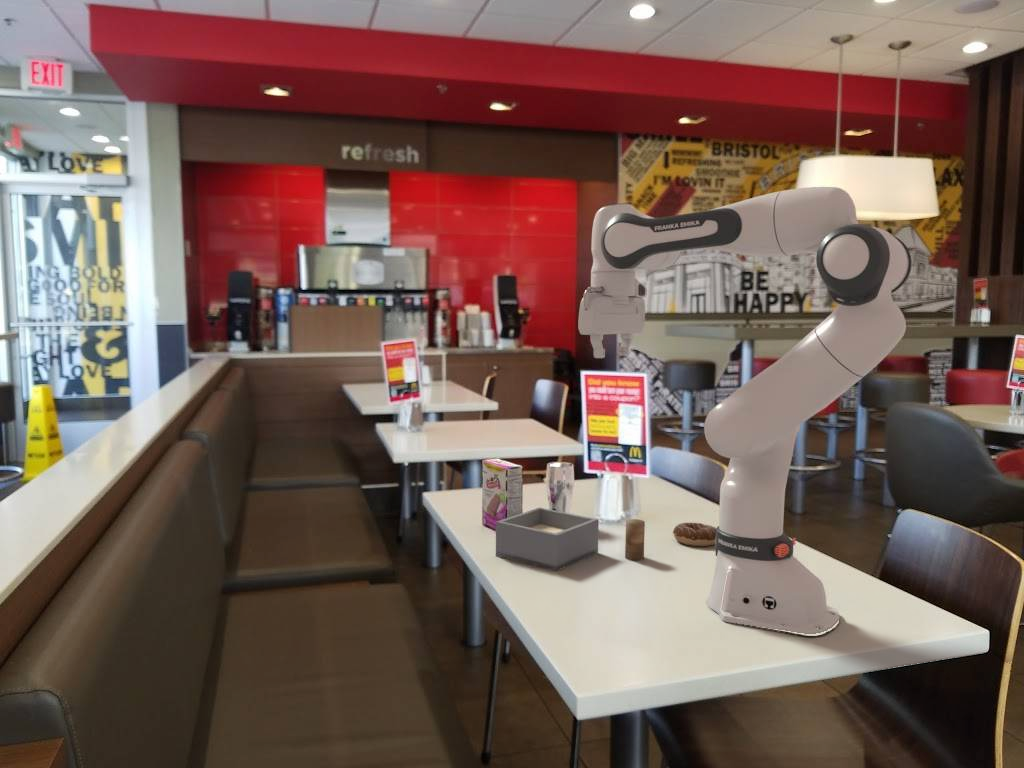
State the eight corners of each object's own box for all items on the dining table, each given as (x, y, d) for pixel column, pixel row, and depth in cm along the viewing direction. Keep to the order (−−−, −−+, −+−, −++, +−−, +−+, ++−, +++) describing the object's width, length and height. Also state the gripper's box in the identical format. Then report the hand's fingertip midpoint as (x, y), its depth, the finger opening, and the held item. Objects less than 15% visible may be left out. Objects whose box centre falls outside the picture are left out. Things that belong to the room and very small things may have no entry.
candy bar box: (480, 525, 197) (481, 459, 195) (497, 522, 200) (498, 457, 198) (506, 536, 188) (506, 467, 186) (523, 533, 191) (524, 465, 189)
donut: (671, 546, 181) (672, 529, 181) (673, 534, 191) (674, 517, 191) (720, 550, 179) (720, 533, 178) (719, 537, 189) (720, 521, 189)
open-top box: (597, 552, 176) (598, 519, 175) (556, 571, 163) (556, 535, 163) (539, 539, 186) (539, 507, 185) (495, 555, 173) (495, 521, 172)
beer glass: (571, 528, 195) (572, 467, 194) (543, 526, 196) (544, 466, 195) (574, 520, 202) (575, 462, 200) (547, 519, 203) (548, 461, 202)
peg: (647, 557, 173) (648, 521, 172) (638, 562, 170) (639, 525, 169) (630, 553, 175) (631, 518, 174) (621, 558, 172) (622, 521, 171)
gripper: (599, 286, 149) (597, 359, 150) (651, 288, 165) (649, 355, 167) (570, 286, 153) (569, 358, 154) (624, 288, 169) (623, 354, 170)
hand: (611, 356), depth 161 cm, fingers open, 8 cm apart
